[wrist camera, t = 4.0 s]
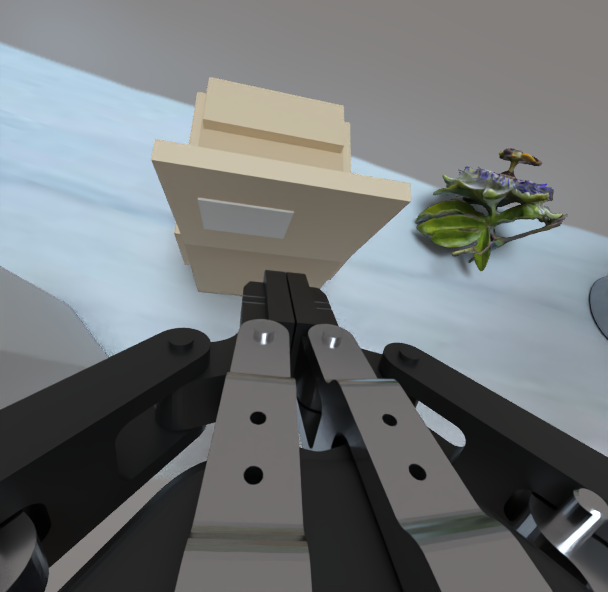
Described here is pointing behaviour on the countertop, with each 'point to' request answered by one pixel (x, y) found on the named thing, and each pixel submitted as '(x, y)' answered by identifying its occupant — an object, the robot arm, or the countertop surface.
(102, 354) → the milk carton
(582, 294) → the countertop surface
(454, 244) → the passion flower
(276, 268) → the carton
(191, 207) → the flap
